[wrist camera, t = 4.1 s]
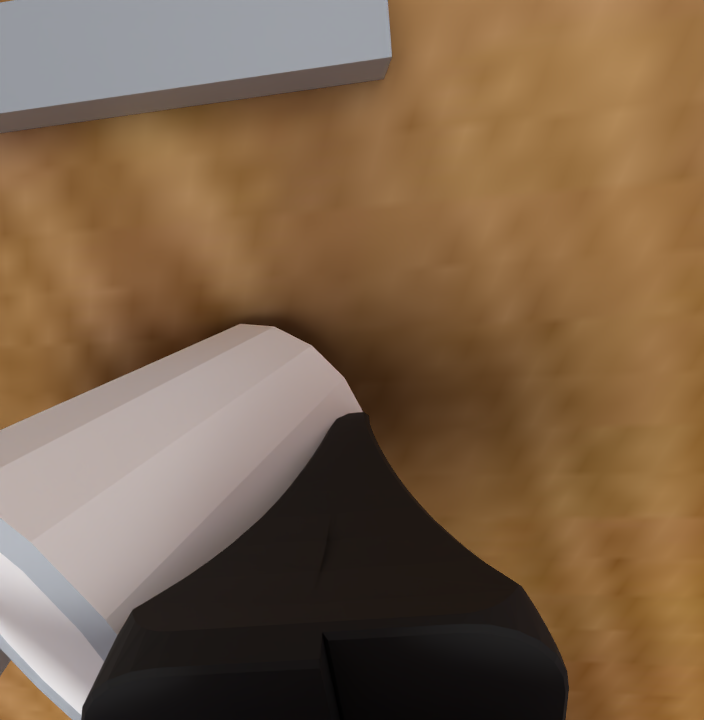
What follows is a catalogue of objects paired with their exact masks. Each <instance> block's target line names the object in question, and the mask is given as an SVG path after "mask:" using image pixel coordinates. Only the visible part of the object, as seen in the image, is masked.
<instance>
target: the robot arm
mask: <svg viewBox="0 0 704 720" xmlns="http://www.w3.org/2000/svg"><path fill="white" fill-rule="evenodd" d="M568 691H569V685H568V676H567V670H566V667H565V665H564V662H563V659H562V657H561V654H560V652H559V650H558V648H557V646H556V644H555V642H554V640H553V638H552V636H551V634H550V632H549V630H548V628H547V626H546V625H545V623H544V621H543V619H542V618H541V616H540V614H539V613H538V611H537V609H536V608H535V606H534V604H533V603H532V601H531V600H530V598H529V597H528V595H527V594H526V592H525V591H524V589H523V588H522V586H520V585H519V584H517V583H516V582H514V581H513V580H511V579H510V578H508V577H507V576H505V575H504V574H502V573H500V572H499V571H497V570H496V569H494V568H493V567H491V566H490V565H488V564H486V563H485V562H483V561H482V560H481V559H479V558H478V557H477V556H476V555H474V554H473V553H472V552H470V551H469V550H468V549H467V548H465V547H464V546H463V545H462V544H461V543H459V542H458V541H457V540H456V539H455V538H454V537H453V536H452V535H450V534H449V533H448V532H447V531H446V530H445V529H444V528H443V527H442V526H440V525H439V524H438V523H437V522H436V521H435V520H434V519H433V518H432V517H431V516H430V515H429V514H428V513H427V512H426V511H425V509H424V508H423V507H422V506H421V505H420V504H419V503H418V502H417V501H416V499H415V498H414V497H413V496H412V495H411V493H410V492H409V491H408V490H407V488H406V487H405V486H404V484H403V483H402V482H401V480H400V479H399V478H398V476H397V475H396V473H395V472H394V470H393V469H392V467H391V466H390V464H389V463H388V461H387V459H386V457H385V456H384V454H383V452H382V450H381V449H380V447H379V445H378V443H377V441H376V439H375V436H374V434H373V432H372V429H371V426H370V421H369V416H368V415H367V414H366V413H365V412H357V413H348V414H346V415H344V416H342V417H339V418H337V419H336V420H335V422H334V423H333V424H332V426H331V427H330V429H329V430H328V432H327V434H326V435H325V437H324V439H323V440H322V442H321V444H320V445H319V447H318V448H317V450H316V451H315V453H314V454H313V456H312V457H311V459H310V460H309V462H308V463H307V465H306V466H305V467H304V469H303V470H302V471H301V473H300V474H299V475H298V476H297V478H296V479H295V480H294V482H293V483H292V484H291V485H290V487H289V488H288V489H287V490H286V492H285V493H284V494H283V495H282V496H281V497H280V498H279V500H278V501H277V502H276V503H275V504H274V505H273V506H272V507H271V508H270V509H269V510H268V511H267V512H266V513H265V514H264V515H263V516H262V517H261V518H260V519H259V520H258V521H257V522H256V523H255V524H254V525H252V526H251V527H250V528H249V529H248V530H247V531H246V532H244V533H243V534H242V535H241V536H240V537H239V538H238V539H236V540H235V541H234V542H233V543H232V544H231V545H229V546H228V547H227V548H226V549H224V550H223V551H222V552H220V553H219V554H218V555H216V556H215V557H214V558H212V559H211V560H210V561H208V562H207V563H205V564H204V565H203V566H201V567H200V568H198V569H197V570H196V571H194V572H193V573H191V574H190V575H188V576H187V577H185V578H184V579H182V580H181V581H179V582H177V583H176V584H174V585H172V586H171V587H169V588H168V589H166V590H164V591H163V592H161V593H159V594H158V595H156V596H154V597H153V598H151V599H150V600H148V601H146V602H145V603H143V604H141V605H139V606H138V607H136V608H134V609H133V610H132V611H131V613H130V615H129V617H128V618H127V620H126V622H125V623H124V625H123V627H122V628H121V630H120V632H119V634H118V635H117V637H116V639H115V641H114V643H113V645H112V647H111V649H110V651H109V653H108V655H107V657H106V659H105V661H104V663H103V665H102V667H101V669H100V671H99V674H98V676H97V678H96V680H95V682H94V684H93V686H92V688H91V690H90V692H89V694H88V696H87V698H86V700H85V702H84V705H83V707H82V716H81V720H565V719H566V710H567V700H568Z"/></svg>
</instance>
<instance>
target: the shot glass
mask: <svg viewBox="0 0 704 720" xmlns="http://www.w3.org/2000/svg"><path fill="white" fill-rule="evenodd" d="M357 412H363V411H362V409H361V407H360V405H359V404H358V402H357V400H356V398H355V396H354V394H353V392H352V391H351V389H350V387H349V385H348V383H347V381H346V380H345V378H344V377H343V376H342V375H341V374H340V373H339V372H338V371H337V370H336V369H335V368H334V367H333V366H332V365H331V364H330V363H329V362H328V361H327V360H326V359H325V358H324V357H323V356H322V355H321V354H320V353H319V352H318V351H317V350H316V349H315V348H314V347H313V346H312V345H310V344H308V343H306V342H304V341H302V340H300V339H298V338H296V337H294V336H292V335H290V334H288V333H286V332H284V331H282V330H280V329H278V328H276V327H274V326H262V325H249V324H239V325H236V326H234V327H232V328H230V329H227V330H225V331H223V332H221V333H218V334H216V335H214V336H212V337H209V338H207V339H205V340H203V341H200V342H198V343H196V344H194V345H191V346H189V347H187V348H185V349H182V350H180V351H178V352H175V353H173V354H171V355H169V356H166V357H164V358H162V359H160V360H157V361H155V362H153V363H151V364H148V365H146V366H144V367H142V368H139V369H137V370H135V371H133V372H130V373H128V374H126V375H124V376H121V377H119V378H117V379H115V380H112V381H110V382H108V383H106V384H103V385H101V386H99V387H96V388H94V389H92V390H90V391H87V392H85V393H83V394H81V395H78V396H76V397H74V398H72V399H69V400H67V401H65V402H63V403H60V404H58V405H56V406H54V407H51V408H49V409H47V410H45V411H42V412H40V413H38V414H36V415H33V416H31V417H29V418H27V419H24V420H22V421H20V422H17V423H15V424H13V425H11V426H8V427H6V428H4V429H2V430H0V649H1V650H2V651H3V652H4V653H5V654H6V655H7V656H8V657H9V658H10V659H11V660H12V661H13V662H14V663H15V664H16V665H17V666H18V668H19V669H20V670H21V671H22V672H23V673H24V674H25V675H26V676H27V677H28V678H29V679H30V680H31V681H32V682H33V683H34V684H35V685H36V687H37V688H39V689H40V690H41V691H42V692H43V693H44V694H45V695H46V696H47V697H48V698H49V699H50V700H52V701H53V702H54V703H55V704H56V705H57V706H58V707H59V708H60V709H61V710H62V711H64V712H65V713H66V714H67V715H68V716H69V717H70V718H71V719H72V720H81V716H82V707H83V705H84V702H85V700H86V698H87V696H88V694H89V692H90V690H91V688H92V686H93V684H94V682H95V680H96V678H97V676H98V674H99V671H100V669H101V667H102V665H103V663H104V661H105V659H106V657H107V655H108V653H109V651H110V649H111V647H112V645H113V643H114V641H115V639H116V637H117V635H118V634H119V632H120V630H121V628H122V627H123V625H124V623H125V622H126V620H127V618H128V617H129V615H130V613H131V611H132V610H133V609H134V608H136V607H138V606H139V605H141V604H143V603H145V602H146V601H148V600H150V599H151V598H153V597H154V596H156V595H158V594H159V593H161V592H163V591H164V590H166V589H168V588H169V587H171V586H172V585H174V584H176V583H177V582H179V581H181V580H182V579H184V578H185V577H187V576H188V575H190V574H191V573H193V572H194V571H196V570H197V569H198V568H200V567H201V566H203V565H204V564H205V563H207V562H208V561H210V560H211V559H212V558H214V557H215V556H216V555H218V554H219V553H220V552H222V551H223V550H224V549H226V548H227V547H228V546H229V545H231V544H232V543H233V542H234V541H235V540H236V539H238V538H239V537H240V536H241V535H242V534H243V533H244V532H246V531H247V530H248V529H249V528H250V527H251V526H252V525H254V524H255V523H256V522H257V521H258V520H259V519H260V518H261V517H262V516H263V515H264V514H265V513H266V512H267V511H268V510H269V509H270V508H271V507H272V506H273V505H274V504H275V503H276V502H277V501H278V500H279V498H280V497H281V496H282V495H283V494H284V493H285V492H286V490H287V489H288V488H289V487H290V485H291V484H292V483H293V482H294V480H295V479H296V478H297V476H298V475H299V474H300V473H301V471H302V470H303V469H304V467H305V466H306V465H307V463H308V462H309V460H310V459H311V457H312V456H313V454H314V453H315V451H316V450H317V448H318V447H319V445H320V444H321V442H322V440H323V439H324V437H325V435H326V434H327V432H328V430H329V429H330V427H331V426H332V424H333V423H334V422H335V420H336V419H337V418H339V417H342V416H344V415H346V414H348V413H357Z"/></svg>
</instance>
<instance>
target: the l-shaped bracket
mask: <svg viewBox="0 0 704 720" xmlns="http://www.w3.org/2000/svg"><path fill="white" fill-rule="evenodd" d="M391 58H392V52H391V38H390V25H389V12H388V0H14V1H8V2H1V3H0V133H5V132H12V131H19V130H26V129H33V128H41V127H48V126H55V125H62V124H69V123H76V122H83V121H90V120H97V119H104V118H111V117H118V116H126V115H133V114H140V113H147V112H154V111H161V110H168V109H175V108H182V107H189V106H196V105H204V104H211V103H218V102H225V101H232V100H239V99H246V98H253V97H260V96H267V95H274V94H281V93H289V92H296V91H303V90H310V89H317V88H324V87H331V86H338V85H345V84H352V83H359V82H367V81H374V80H381V79H384V77H385V74H386V71H387V69H388V66H389V63H390V61H391ZM10 661H11V659H10V658H9V657H8V656H7V655H6V654H5V653H4V652H3V651H2V650H1V649H0V675H1V674H2V672H3V671H4V670H5V668H6V667H7V665H8V664H9V662H10Z"/></svg>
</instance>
